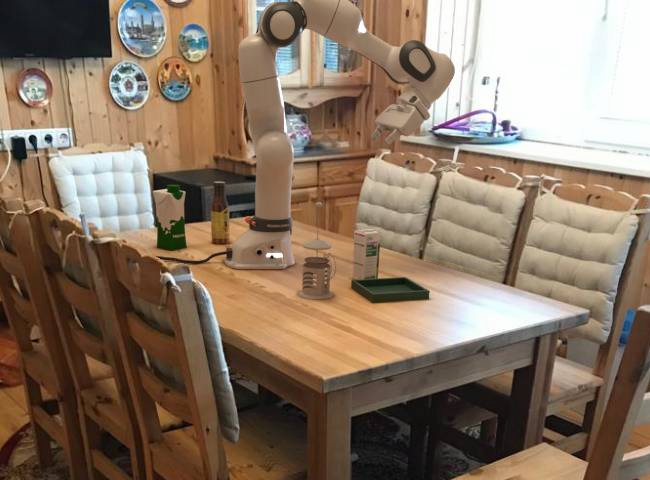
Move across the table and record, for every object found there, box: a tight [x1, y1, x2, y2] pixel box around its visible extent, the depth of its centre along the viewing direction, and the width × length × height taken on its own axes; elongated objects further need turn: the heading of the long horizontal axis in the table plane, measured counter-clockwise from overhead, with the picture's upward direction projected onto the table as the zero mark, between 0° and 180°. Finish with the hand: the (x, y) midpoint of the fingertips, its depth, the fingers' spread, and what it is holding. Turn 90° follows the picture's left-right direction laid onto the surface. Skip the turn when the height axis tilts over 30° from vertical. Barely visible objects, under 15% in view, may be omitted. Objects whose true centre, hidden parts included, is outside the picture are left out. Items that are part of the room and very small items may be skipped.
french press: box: [298, 201, 337, 300], centre depth 225 cm, size 10×12×25 cm
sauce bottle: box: [210, 180, 231, 245], centre depth 279 cm, size 7×6×20 cm
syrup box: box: [352, 228, 382, 280], centre depth 245 cm, size 6×6×14 cm
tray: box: [350, 276, 431, 304], centre depth 235 cm, size 18×16×2 cm
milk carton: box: [152, 183, 188, 251], centre depth 270 cm, size 9×9×20 cm
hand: (379, 141), depth 244 cm, fingers open, 8 cm apart
